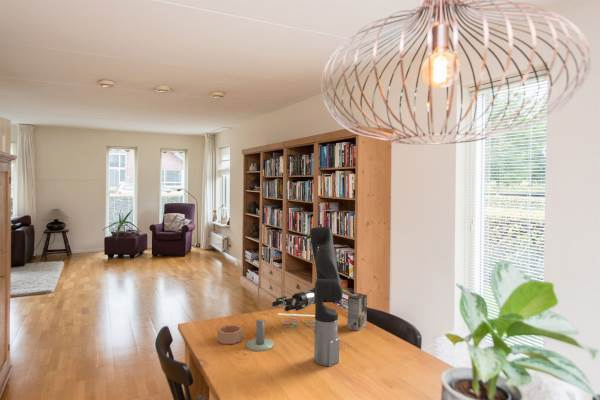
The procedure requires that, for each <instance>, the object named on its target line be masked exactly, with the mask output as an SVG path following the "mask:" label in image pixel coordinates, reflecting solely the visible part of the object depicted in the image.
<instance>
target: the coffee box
mask: <svg viewBox="0 0 600 400" xmlns="http://www.w3.org/2000/svg"><path fill="white" fill-rule="evenodd" d="M367 300H368V295H367V294H363V293H360V292H355V293H353V294H351V295H348V296H347V329H350V330H353V329H354V330H353V331H356V330H359V331H361V330H363V329H364V328H365V327H367V316H368V315H367V312H368V311H367V306H368V303H367V302H368V301H367ZM363 327H364V328H363ZM360 329H361V330H360Z"/></svg>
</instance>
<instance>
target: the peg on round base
mask: <svg viewBox="0 0 600 400" xmlns="http://www.w3.org/2000/svg"><path fill="white" fill-rule="evenodd" d="M255 322H256V326H255V338H252V339H249V340H248V341H247V342H246V344H245V347H246V348H247V349H248V350H250V351H252V352H254V351H255V352H265V351H270V350H272V349H273V348H274V346H275V343H274V340H271V339H270V338H266V337H265V328H266V327H265V325H266V324H265V323H266V321H265V320H264V319H256V321H255Z"/></svg>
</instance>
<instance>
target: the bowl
mask: <svg viewBox="0 0 600 400" xmlns="http://www.w3.org/2000/svg"><path fill="white" fill-rule="evenodd" d="M242 338H243V327H241V326H240V325H237V324H226V325H223V326H219V327H218V330H217V342H219V343H220V344H223V345H234V344H238V343H240V342H241V341H242Z"/></svg>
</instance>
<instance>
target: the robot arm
mask: <svg viewBox="0 0 600 400" xmlns="http://www.w3.org/2000/svg"><path fill="white" fill-rule="evenodd" d="M309 235H310V236H309V237H310V238H309V239H310V245H311V250H312V254H313V260H314V264H315V271H316V281H315V284H314V287H313V288H312V289H308V290H303V291H300V292H296V293H293V294H292V296H291V297H287V296H281V297H277V298H275V299H276V300H274V301H272V303H271V305H272V307H273V308H274V307H278V306H283V307H284V311H285V312H289V311H294V310H295V311H300V310H304V309H306V308H307V307H309V306H311V305H314V304H315V306H314V307H315V308H314V309H315V310H314V315H315V317H314V320H315V321H314V322H315V323H314V324H315V326H314V328H315V330H314V344H313V347H314V352H313V358H314V359H313V361H314V363H316V364H318V365H320V366H326V367H332V366H334V365H335V364H338V363H340V338H339V337H338V331H339V329H338V328H339V323H338V322H339V313H338V311H337V310H335V309H334V308H331V307H328V306H327V305H325V304H324V303H339V302H341V300H342V298H343V286H342V281H341V278H340V275H339V270H338V263H337V262H338V261H337V256H336V251H335V247H334V237H333V230H332V229H331V227H329V226H317V227H312V228H310V231H309ZM319 246H320V247H319Z"/></svg>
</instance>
